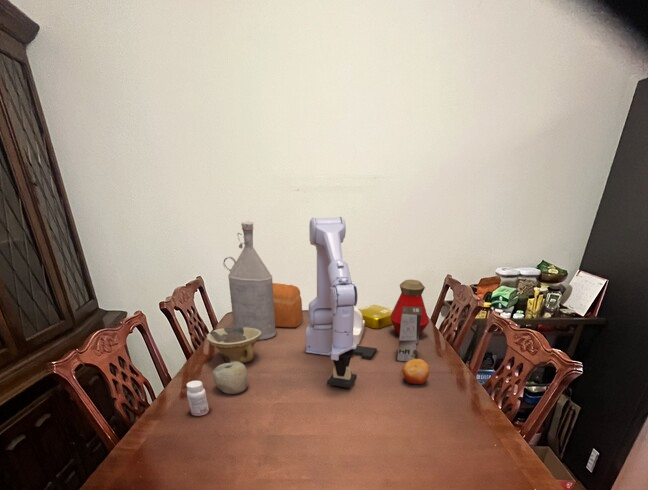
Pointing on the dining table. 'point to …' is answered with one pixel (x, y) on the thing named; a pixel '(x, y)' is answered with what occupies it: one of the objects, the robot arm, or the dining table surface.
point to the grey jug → (251, 288)
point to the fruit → (415, 371)
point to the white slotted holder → (358, 326)
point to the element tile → (376, 316)
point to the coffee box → (409, 333)
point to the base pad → (365, 352)
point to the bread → (287, 305)
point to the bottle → (409, 303)
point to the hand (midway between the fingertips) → (342, 373)
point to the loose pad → (342, 378)
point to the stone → (231, 377)
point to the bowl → (235, 342)
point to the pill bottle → (197, 398)
